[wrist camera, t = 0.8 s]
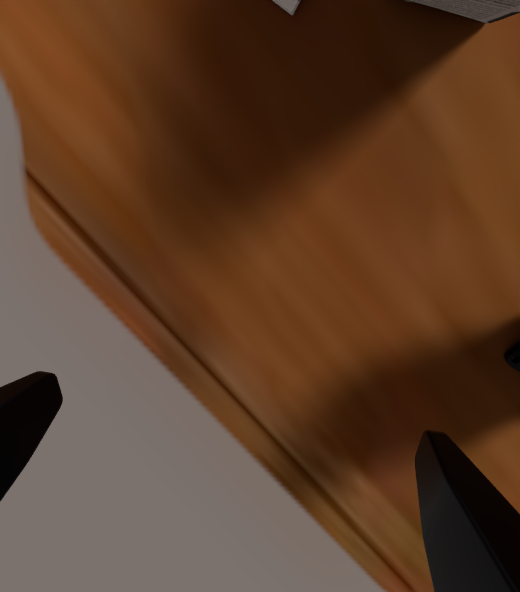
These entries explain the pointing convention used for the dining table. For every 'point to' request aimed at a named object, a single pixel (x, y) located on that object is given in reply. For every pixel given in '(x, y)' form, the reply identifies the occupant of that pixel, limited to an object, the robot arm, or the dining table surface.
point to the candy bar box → (476, 8)
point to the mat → (288, 5)
